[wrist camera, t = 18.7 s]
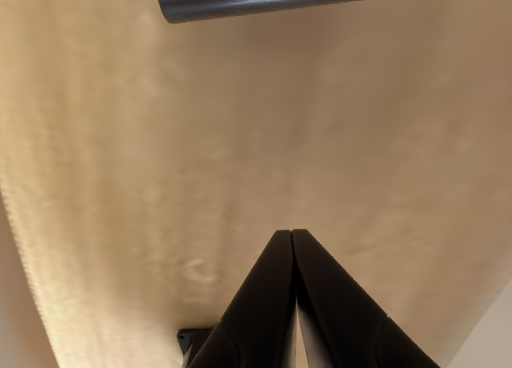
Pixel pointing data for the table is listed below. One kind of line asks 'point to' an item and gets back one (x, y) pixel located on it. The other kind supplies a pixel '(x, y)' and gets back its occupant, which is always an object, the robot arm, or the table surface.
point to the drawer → (230, 8)
